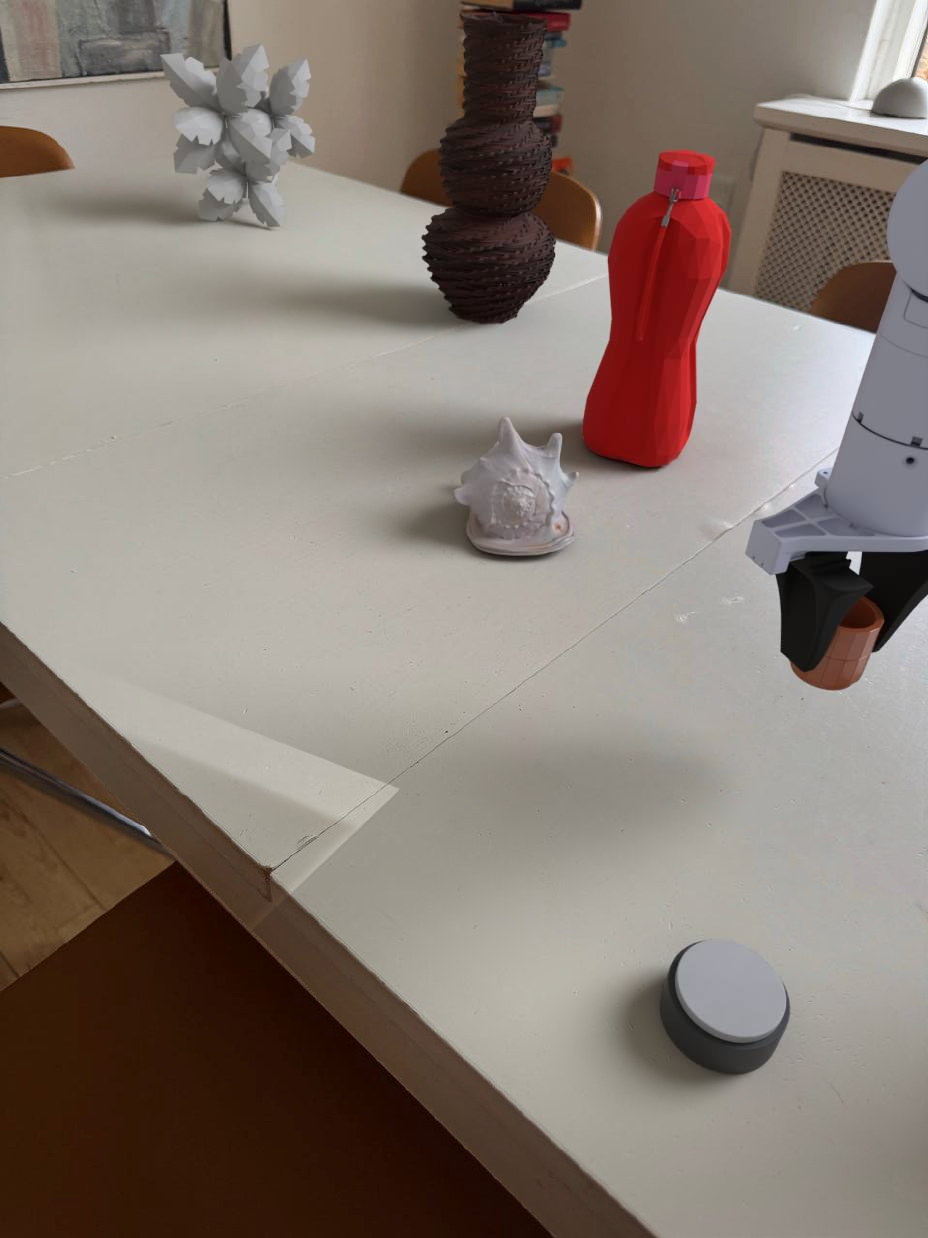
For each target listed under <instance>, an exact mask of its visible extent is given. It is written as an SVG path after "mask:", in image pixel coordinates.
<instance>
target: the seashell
mask: <svg viewBox="0 0 928 1238" xmlns="http://www.w3.org/2000/svg"><path fill="white" fill-rule="evenodd" d="M496 435H497V441H495V443H494V444H493V446H492V447H490V449H489V450H488V451H487V452H485V454H484V455H482V456H479V457H478V458H477V461H475V463H474V464H473V465H472V466H471V467H470V468H469V469H467V470H465V471H463V472H462V473H461V474H460V483H461V486H460V487H458V488H454V489H453V490H452V492H451V493H452V498H453V500H454V501H455V502H456V503H458V504H460V505H463V506H466V507H468V508H469V517H468V520H467V522H466V528H465V532H466V536H467V537H468V539H469V541H470V542H471V544H472V545H473V546H474V547H475V548H476V549H478V550H480V551H482V552H484V553H489V554H494V555H500V556H540V555H545V554H548V553H553V552H559V551H561V550H563V549H565V548H566V547H567V546H569V545H570V544H572V543H573V542H574V541H575V539H576V527H575V522H574V520H573V518H572V517H571V515H570V514H569V513H567V511H566V510H565V509H564V504H565V500H566V497H567V495H568V493H569V492H570V490H571V489H572V487H573V486H574V485H575V483H576V482H577V481H578V479H579V477H580V474H579V472H578V471H576V470H575V471H572V472H570V473H567V472H563V470H562V468H561V464H560V462H561V461H560V458H561V452H562V445H563V436H562V434H561V433H559V432H553V433H552V434H551V435H550V437H549V440H548V442H547V443H546V444H544V445H540V446H535V445H531V444H529V443H526V442H525V441H523V439H522V438H521V436H520V435H519V433H518V432H517V430H516V428H515V427H514V425H513V423H512V421H511V420H510V418H509V417H508V416H502V417H501V418H499V421H498V422H497V424H496Z"/></svg>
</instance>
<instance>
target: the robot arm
mask: <svg viewBox="0 0 928 1238" xmlns="http://www.w3.org/2000/svg"><path fill="white" fill-rule="evenodd" d="M886 244H887V250H888V254H889V257H890V258H889V259H890V261H891V263H892V265H893V267H894V269H895V271H896V273H895V276H894V280H893V282H892V286H891V289H890V292H889V295H888V298H887V301H886V304H885V307H884V310H883V312H882V315H881V318H880V321H879V324H878V327H877V330H876V334H875V337H874V339H873V343H872V346H871V349H870V351H869V354H868V358H867V362H866V364H865V367H864V370H863V374H862V377H861V379H860V382H859V386H858V389H857V392H856V395H855V397H854V400H853V403H852V408H851V411H850V414H849V417H848V420H847V423H846V426H845V429H844V432H843V436H842V439H841V442H840V445H839V448H838V451H837V454H836V457H835V460H834V463H833V466H832V467H828V468H824V469H820V470H818V471H817V473H816V476H815V478H814V485H815V486H816V487H817V488H816V489H814V490H812V491H811V492H809V493H808V494H806V495H804V496H803V497H802V498H800V499H798V500H797V501H794V502H793V503H792V504H790V505H788V506H786V507H785V508H783V509H782V510H781V511H779V512H777V513H775V514H773V515H770V516H767V517H763V518H759V519H755V520H753V524H752V527H751V530H750V534H749V538H748V541H747V545H746V548H745V552H744V555H745V556H747V557H748V558H749V559H750V560H751V561H752V562H753V563H755V564H756V565H757V566H758V567H759V568H761V569H762V570H763V571H765V572H766V573H767V574H768V575H769V576H774V575H775V580H776V584H777V591H778V597H779V606H780V645H779V647H780V649H779V650H780V651H779V652H780V653H781V654H782V655H783V656H784V657H785V658H786V659H788V661H789V660H790V661H791V662H792V663H793V664H794V665H795V666H796V667H798V668H799V669H800V670H801V671H802V672H808V671H811V670H814V669H815V668H816V666H817V665H818V664H819V663H820V661H821V660H822V658H823V656H824V655H825V653H826V651H827V648H828V646H829V644H830V642H831V640H832V638H833V636H834V634H835V632H836V630H837V628H838V626H839V625H840V623H841V622H842V620H843V619H844V617H845V616H846V614H847V613H848V612H849V611H850V609H851V608H852V607H853V606H854V605H855V604H856V603H857V601H858V600H859V599H860V598H861V597H863V596H865V597H866V598H868V599H869V600H871V601H872V602H874V603H875V604H876V605H877V606H878V607H879V609H880V610H881V611H882V613H883V617H884V623H883V626H882V628H881V631H880V633H879V636H878V638H877V641H876V643H875V645H874V648H873V650H872V653H871V654H873V653H876V652H879V651H880V650H881V649H882V648H883V647H884V646H885V645H886V644H887V643H888V642H889V640H890V639H891V638H892V637H893V635H894V634H895V633H896V632H897V630H898V629H899V628H900V627H901V626H902V625H903V623H904V622H905V620H906V619H907V618H908V617H909V616H910V615H911V613H913V611H914V610H915V609H916V608H917V606H919V604H920V603H921V602H922V601H923V600H924V599H925V598H926V597H927V596H928V159H926V160H924V161H923V162H922V163H920V164H919V165H918V166H917V167H916V168H914V170H912V172H911V173H909V175H908V176H907V177H906V178H905V180H904V181H903V182H902V184H901V185H900V187H899V189H898V190H897V192H896V194H895V197H894V198H893V201H892V203H891V206H890V209H889V214H888V218H887V223H886ZM849 552H851V553H852V552H854V553H855V552H856V553H857V552H858V553H859V552H861V556H860V564H859V570H858V573H857V572H856V571H854V569H852V568H851V564H852V562H853V561H852V559H851V558H847V557H848V555H849Z"/></svg>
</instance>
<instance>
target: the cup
mask: <svg viewBox="0 0 928 1238" xmlns="http://www.w3.org/2000/svg"><path fill="white" fill-rule="evenodd" d="M883 623H884V617H883V613H882V611H881V610H880V609H879V607H878V606H877V605H876V604H875V603H874V602H872V601H871V600H869V599H868V598H866V597H865V596H863V597H861V598H860V599H859V600H858V601H857V603H856V604H855V605H854V606H853V607H852V608H851V609H850V611H849V612H848V613H847V614H846V616H845V617H844V619H843V620H842V622H841V623H840V625H839V626H838V628H837V630H836V632H835V634H834V636H833V638H832V640H831V642H830V644H829V646H828V648H827V651H826V653H825V655H824V656H823V658H822V660H821V661H820V663H819V664H818V665H817V666H816V668H815V669H814V670H811V671H808V672H802V671H801V670H800V669H799V668H798V667H796V666H795V665H794V664H793V663H792V662H791V661H790V660H789V659H788V662H789V664H790V668H791V671H792V672H793V673H794V675H795V676H796V677H797V678H798V679H800V680H801V681H802V682H804V683H805V684H807V685H809V686H811V687H814V688H817V689H820V690H825V691H842V690H845V689H848V688H849V687H851V686H852V685H853V684H856V683H857V682H859V681H860V680H861V678H862V676H863V674H864V672H865V670H866V668H867V666H868V662H869V660H870V657H871V655H872V654H873V653H872V650H873V648H874V645H875V643H876V641H877V638H878V636H879V633H880V631H881V628H882V626H883Z"/></svg>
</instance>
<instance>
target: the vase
mask: <svg viewBox="0 0 928 1238" xmlns="http://www.w3.org/2000/svg"><path fill="white" fill-rule="evenodd" d="M458 15H459V18H460V20H461V21H462V22H463V24H462V28H463V29H462V30H463V32H464V35H465V37H464V38H463V40H462V47H463V48H464V52H463V60H464V64H463V71H464V73H465V75H466V76H465V77H464V78H463V80H462V83H463V87H464V88H463V90H462V96H463V98H464V100H463V102H461V108H462V110H463V111H464V114H463V116H462V117H460V118H458V119H456V120H455V121H454V122H453V124H452V125H450V126H449V125H448V126H447V127H446V128H445V130H444V132H445V136H444V137H442V138H440V139H439V144H440V145H441V146H440V147H439V148H437V153H438V154H439V155H440V156H441V157H442V158H441V159H440V160H437V165H438V166H439V167H440V168H441V170H439V171H438V173H439V175H440V177H442V178H443V182H440V187H442V188H443V189H444V190H445V191H446V192H445V197H446V198H447V199H449V200H450V201H452V204H451V205H452V207H448V208H445V209H444V211H443V212H442V213H440V214H433V215H431V217H430V220H431V221H430V223H429V224H426V225H425V228H424V229H425V230H426V231H427V233H425V234H421V237H420V238H421V240H422V241H423V242H424V243H425V244H424V245H423V246H422V247H421V249H422V251H424V252H426V254H425V255H422V256H421V259H422V261H423V262H424V263H426V264H427V265H428V266H427V267H426V269H427V270H426V271H428V272H429V273H431V276H429V279H430V280H431V282H433V283H434V284H436V285H438V287H437V289H438V291H439V292H441V293H442V294H443V295H444V296H443V299H444V300H445V301H447V302H448V303H450V304H451V305H450V306H448V311H450V312H451V313H452V314H453V315H454V316H456V317H457V319H460V320H464V321H468V322H474V323H478V324H495V323H501V324H504V323H505V322H507V321H510V320H511V319H514V318H515V319H516V318H517V317H518V314H519V313H520V310H521V309H522V308H523V307H524V306H525V303H526V302H528V301H529V300H531V299H532V297H533V296H535V294H536V293H537V292H538V290H539V289H540V288H541V286H543V285H544V283H545V282H546V281H547V280H548V277H549V275H550V273H551V269H552V267H553V265H554V261H555V258H556V252H555V249H556V247H555V246H556V244H557V240H556V238H555V234H554V232H552V230H551V228H550V226H549V225H548V224H547V223H546V221H544V219H542V218H541V217H540V216H538V215H537V214H534V213H533V212H531V211H532V210H533V209H534V208H536V207H537V206H538V205H539V204H540V202H541V201H542V195H543V194H544V193H545V191H546V189H547V185H548V184H549V181H550V180H549V177H550V173H551V171H552V169H553V150H552V148H553V145H552V141H551V139H550V137H549V136H548V134H546V133H544V131H543V130H542V129H541V127H540V126H539V125H538V124H537V123H536V122H535V121H534V113H535V110H536V107H537V102H538V101H537V94H538V93H537V91H538V90H537V87H538V85H539V80H540V78H539V72H540V70H541V64H542V62H543V60H544V52H543V50H542V49H543V47H544V43H545V36H546V35H547V32H548V25H549V21H547V17H542V18H539V17H534V16H528V15H526V14H525V13H521V14H520V15H517V14H506V13H497V12H496V11H492V12H490V13H488V12H487V13H486V12H485V13H484V12H472V11H469V12H468V13H464V14H462V13H459V14H458Z"/></svg>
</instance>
